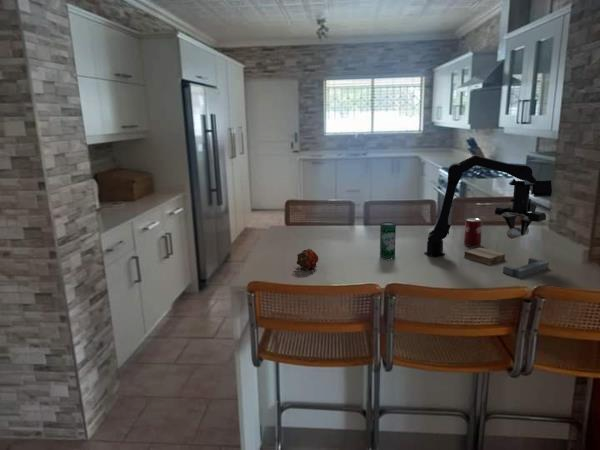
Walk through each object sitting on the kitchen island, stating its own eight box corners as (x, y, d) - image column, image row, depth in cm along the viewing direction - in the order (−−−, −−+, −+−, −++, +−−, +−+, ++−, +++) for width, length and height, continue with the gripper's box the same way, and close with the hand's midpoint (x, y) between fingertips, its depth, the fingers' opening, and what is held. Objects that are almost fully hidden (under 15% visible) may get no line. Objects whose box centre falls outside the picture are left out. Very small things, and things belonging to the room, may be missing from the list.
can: (384, 260, 188) (384, 225, 185) (377, 256, 194) (378, 222, 191) (397, 258, 190) (397, 224, 186) (390, 254, 196) (391, 221, 192)
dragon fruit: (303, 277, 176) (307, 271, 188) (320, 264, 174) (324, 259, 186) (290, 259, 176) (296, 254, 188) (308, 247, 174) (312, 243, 186)
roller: (515, 239, 178) (516, 229, 177) (506, 237, 181) (507, 228, 180) (528, 235, 182) (529, 226, 181) (519, 234, 186) (519, 224, 185)
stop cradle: (520, 277, 164) (520, 271, 163) (503, 272, 170) (503, 266, 169) (548, 268, 173) (548, 262, 172) (530, 263, 179) (531, 257, 178)
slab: (488, 265, 179) (489, 258, 179) (464, 258, 189) (464, 251, 189) (504, 261, 184) (504, 254, 184) (479, 253, 194) (480, 247, 194)
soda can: (462, 246, 205) (464, 220, 202) (465, 242, 211) (466, 217, 209) (479, 247, 202) (481, 221, 199) (481, 243, 208) (483, 218, 205)
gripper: (555, 197, 174) (551, 235, 178) (511, 191, 190) (508, 227, 193) (539, 200, 168) (535, 240, 172) (495, 194, 184) (492, 231, 187)
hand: (517, 234), depth 181 cm, fingers closed on roller, 4 cm apart
